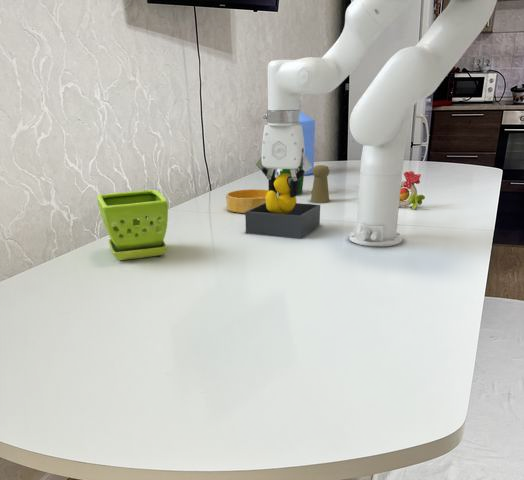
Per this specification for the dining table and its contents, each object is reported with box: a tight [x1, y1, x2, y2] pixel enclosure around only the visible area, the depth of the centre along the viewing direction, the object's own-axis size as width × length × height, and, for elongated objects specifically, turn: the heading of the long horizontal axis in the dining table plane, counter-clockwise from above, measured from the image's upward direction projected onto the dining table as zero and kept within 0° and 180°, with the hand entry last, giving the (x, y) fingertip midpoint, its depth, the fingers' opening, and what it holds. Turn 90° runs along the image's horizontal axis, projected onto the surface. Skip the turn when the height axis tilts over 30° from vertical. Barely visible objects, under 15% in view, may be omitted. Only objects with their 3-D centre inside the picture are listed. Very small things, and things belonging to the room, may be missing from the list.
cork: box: [310, 164, 330, 204], centre depth 167 cm, size 6×6×11 cm
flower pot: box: [96, 189, 169, 261], centre depth 118 cm, size 14×14×13 cm
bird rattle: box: [399, 170, 426, 210], centre depth 156 cm, size 6×11×9 cm
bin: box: [244, 202, 321, 239], centre depth 137 cm, size 14×15×6 cm
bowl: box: [225, 188, 269, 214], centre depth 161 cm, size 15×15×4 cm
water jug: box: [299, 99, 316, 176], centre depth 217 cm, size 16×16×28 cm
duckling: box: [265, 173, 297, 214], centre depth 134 cm, size 11×5×10 cm, turn 133°
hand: (283, 194), depth 134 cm, fingers closed on duckling, 5 cm apart
